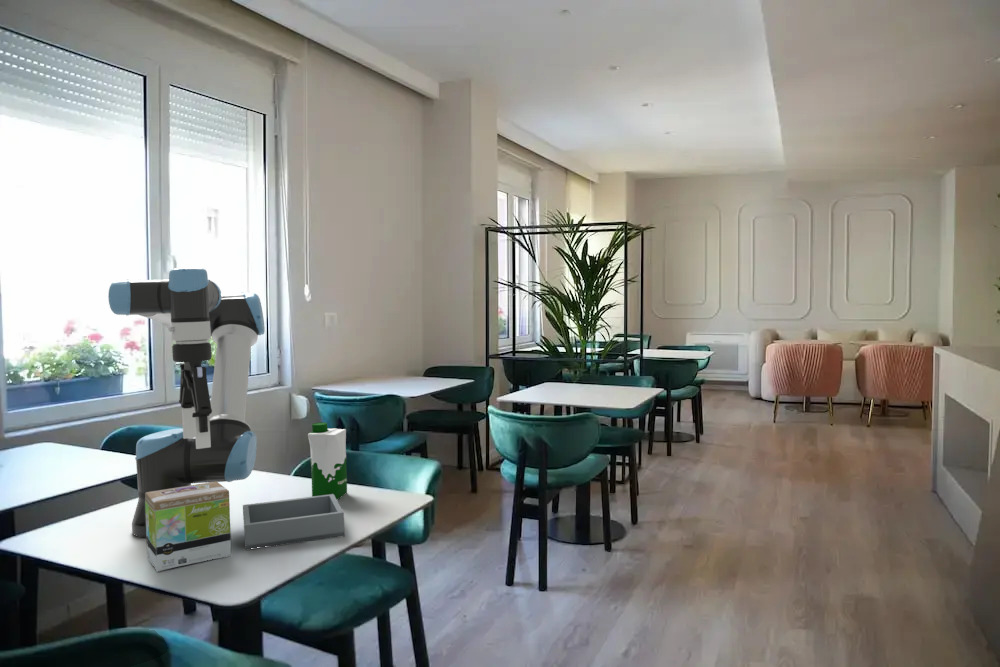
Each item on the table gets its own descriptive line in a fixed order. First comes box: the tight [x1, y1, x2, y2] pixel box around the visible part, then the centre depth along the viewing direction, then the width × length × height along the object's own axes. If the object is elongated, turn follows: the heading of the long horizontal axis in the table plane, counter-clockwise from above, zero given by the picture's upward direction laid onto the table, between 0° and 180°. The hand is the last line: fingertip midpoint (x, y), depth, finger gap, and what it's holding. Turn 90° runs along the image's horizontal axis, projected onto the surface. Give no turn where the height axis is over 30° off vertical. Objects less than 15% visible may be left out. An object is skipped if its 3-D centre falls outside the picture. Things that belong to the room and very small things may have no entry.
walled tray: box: [242, 494, 345, 550], centre depth 173 cm, size 16×21×6 cm
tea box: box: [145, 481, 232, 573], centre depth 157 cm, size 15×10×15 cm, turn 126°
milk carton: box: [307, 421, 348, 500], centre depth 201 cm, size 9×9×20 cm
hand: (196, 442), depth 156 cm, fingers open, 13 cm apart
